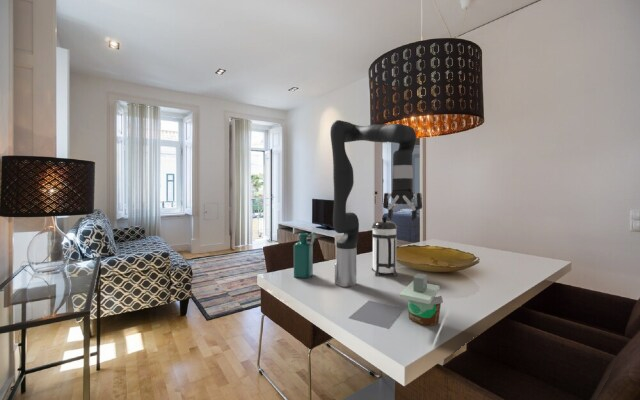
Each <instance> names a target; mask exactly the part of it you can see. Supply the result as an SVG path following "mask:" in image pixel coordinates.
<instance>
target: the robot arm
mask: <svg viewBox="0 0 640 400" xmlns="http://www.w3.org/2000/svg"><path fill="white" fill-rule="evenodd" d="M416 140H417V134H416V131H415V128H413V127H412V126H409V125H406V124H403V123H402V124H401V123H391V124H369V125H357V124H353V123H351V122H349V121H345V120H341V119H336V120H334V121H333V122H332V124H331V126H330V143H331V150H332V170H333V171H332V172H333V173H332V174H333V175H332V176H333V177H332V178H333V179H332V180H333V210H332V211H333V212H332V226H333V230H334V231H335V232H336V233H337V234H342V237H340V238H339V239H338V240H337V241H336V262H335V263H334V284H335V285H337V286H339V287H342V288H350V287H351V288H352V287H354V286H356V285H357V244H358V242H359V232H360V222H359V218H358V215H357V214H356V213H354V212H347V201H348V199H349V196H350V194H351V191H352V189H353V187H354V180H355V179H354V167H353V165H352V163H351V160H350V158H349V157H348V154H347V151H346V144H345V143H350V142H359V141H360V142H361V141H364V142H372V143H373V142H374V143H394V144H399V146H398V149H397V150H395V151H394V152H393V154H392V156H393V157H392V173H391V174H392V175H391V178H392V184H391V189H392V191H391V193H389V192H384V193H383V202H382V203H383V204H382V205H383V209H387V215H388V219H389V220H393V219H394V207H396V206H397V205H408V206H409V207H410V208H411V221H413V222H415V221H416V219H417V218H418V211H419V210H421V209H422V208H423V198H422V197H423V196H422V193H421V192H418V193H414V192H413V191H414V189H413V188H414V185H413V184H414V183H413V182H414V178H413V177H414V172H413V153H414V149H415V146H416ZM390 198H392V201H391V202H390V204H389V199H390ZM413 198H414V199H416V204H417V205H415V203H414V202H413Z"/></svg>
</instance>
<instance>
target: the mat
mask: <svg viewBox="0 0 640 400" xmlns="http://www.w3.org/2000/svg"><path fill="white" fill-rule="evenodd" d="M405 309H406V308H405V307H403V306H402V307H401V306H398V305H392V304H388V303H383V302H378V301H374V300H370V299H369V300H368V301H367V302H365V303H364V304H362V306H360V307H359V308H358V309H357V310H356V311H355V312H353V313H352V314H351V315H350V316H348V319H350V320H354V321H357V322H362V323H364V324H369V325H373V326H377V327H380V328H384V329H389V330H390V328H391V327H392V326H393V324H394V323H395V321H397V319H398V318H399V317H400V316H401V314H402V313H403V311H405Z"/></svg>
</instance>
